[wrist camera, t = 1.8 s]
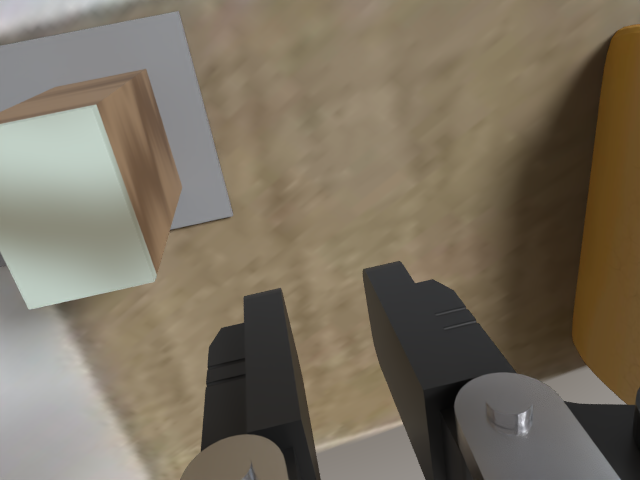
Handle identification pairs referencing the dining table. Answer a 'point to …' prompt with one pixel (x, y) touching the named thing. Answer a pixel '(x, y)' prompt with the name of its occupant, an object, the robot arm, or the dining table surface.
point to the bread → (613, 229)
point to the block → (85, 189)
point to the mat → (167, 84)
